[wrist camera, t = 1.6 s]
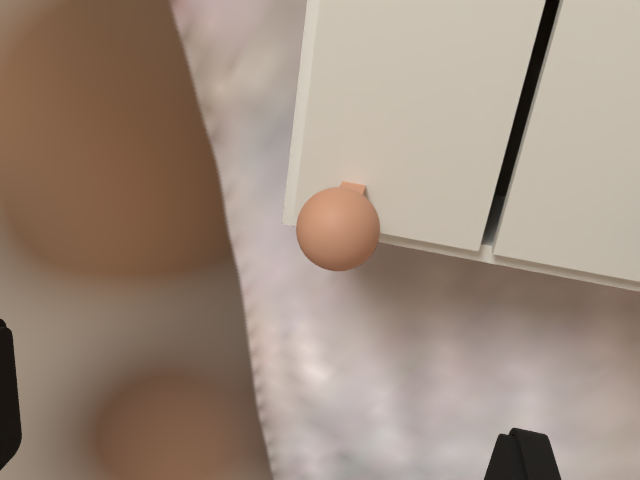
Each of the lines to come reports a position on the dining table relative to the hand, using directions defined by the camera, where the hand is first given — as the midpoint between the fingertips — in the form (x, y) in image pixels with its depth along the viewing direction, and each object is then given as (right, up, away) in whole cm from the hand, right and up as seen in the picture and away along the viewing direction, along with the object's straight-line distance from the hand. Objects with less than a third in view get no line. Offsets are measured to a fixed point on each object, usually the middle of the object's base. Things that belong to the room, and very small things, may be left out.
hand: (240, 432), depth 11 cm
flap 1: (+5, +10, +12) cm, 16 cm away
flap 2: (+14, +8, +11) cm, 20 cm away
